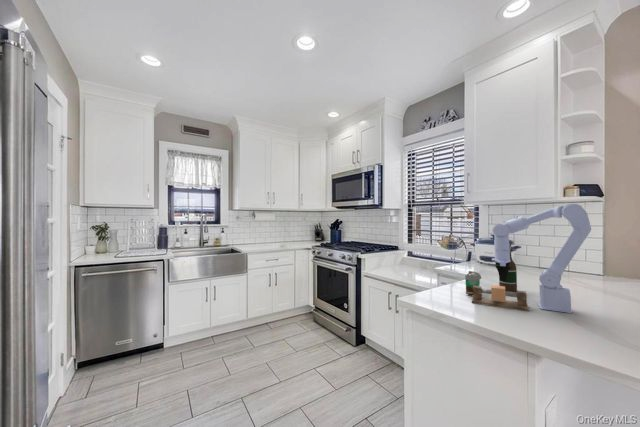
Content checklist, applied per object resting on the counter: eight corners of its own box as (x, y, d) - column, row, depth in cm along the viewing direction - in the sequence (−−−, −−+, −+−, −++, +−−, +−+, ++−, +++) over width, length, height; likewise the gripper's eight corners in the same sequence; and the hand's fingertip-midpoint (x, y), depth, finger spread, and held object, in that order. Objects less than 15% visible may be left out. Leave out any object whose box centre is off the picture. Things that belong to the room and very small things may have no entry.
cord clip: (505, 298, 114) (505, 286, 114) (505, 302, 110) (505, 289, 110) (491, 297, 117) (491, 285, 117) (491, 300, 113) (491, 287, 113)
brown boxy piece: (527, 305, 111) (526, 290, 111) (529, 311, 104) (528, 295, 104) (473, 297, 122) (472, 284, 122) (471, 302, 116) (471, 288, 116)
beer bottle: (502, 292, 130) (500, 244, 130) (496, 288, 137) (495, 243, 138) (520, 293, 128) (519, 245, 128) (513, 289, 135) (512, 243, 135)
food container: (480, 297, 122) (479, 276, 122) (465, 295, 126) (465, 275, 126) (483, 291, 132) (482, 272, 132) (469, 289, 136) (468, 270, 136)
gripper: (491, 247, 127) (492, 275, 127) (491, 251, 115) (492, 281, 115) (509, 248, 124) (510, 276, 123) (511, 252, 111) (512, 283, 111)
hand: (502, 279), depth 119 cm, fingers open, 7 cm apart
